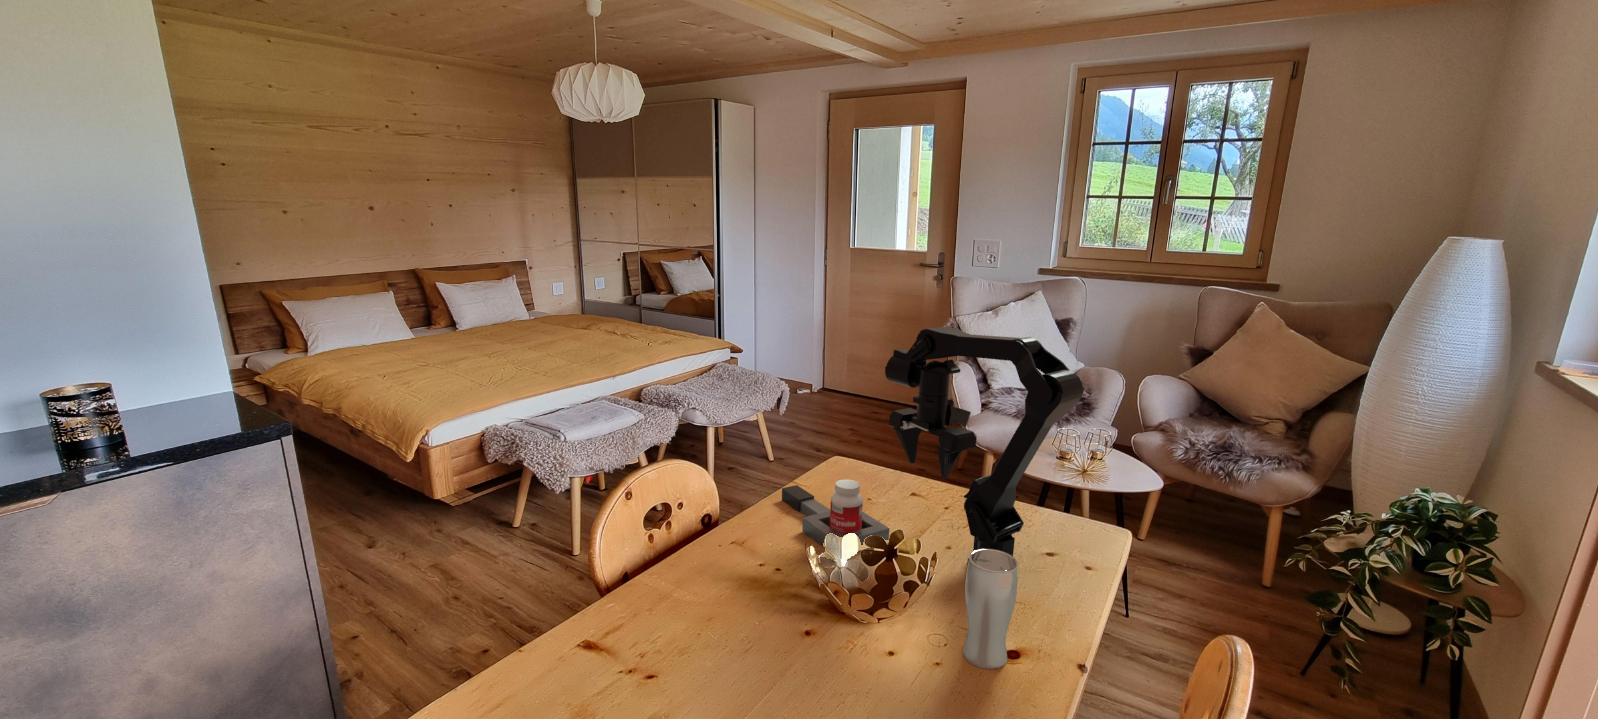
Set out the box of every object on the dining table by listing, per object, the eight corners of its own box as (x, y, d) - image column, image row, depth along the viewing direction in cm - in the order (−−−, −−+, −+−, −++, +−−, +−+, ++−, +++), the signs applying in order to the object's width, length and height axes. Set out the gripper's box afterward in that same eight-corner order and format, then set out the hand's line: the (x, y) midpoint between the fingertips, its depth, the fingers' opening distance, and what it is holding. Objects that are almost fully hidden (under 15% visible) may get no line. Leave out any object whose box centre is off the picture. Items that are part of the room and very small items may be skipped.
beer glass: (972, 635, 103) (980, 542, 100) (1017, 654, 99) (1027, 558, 96) (951, 657, 98) (958, 560, 95) (997, 678, 94) (1007, 577, 91)
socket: (888, 542, 132) (889, 528, 131) (837, 557, 126) (837, 542, 125) (812, 493, 154) (812, 480, 154) (765, 503, 148) (765, 490, 148)
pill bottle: (825, 541, 132) (827, 486, 130) (834, 527, 138) (836, 475, 135) (856, 547, 130) (858, 492, 128) (864, 533, 136) (867, 480, 133)
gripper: (1000, 399, 127) (993, 479, 130) (931, 378, 143) (926, 449, 146) (956, 406, 121) (950, 490, 125) (889, 383, 137) (885, 458, 140)
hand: (928, 470), depth 134 cm, fingers open, 9 cm apart
